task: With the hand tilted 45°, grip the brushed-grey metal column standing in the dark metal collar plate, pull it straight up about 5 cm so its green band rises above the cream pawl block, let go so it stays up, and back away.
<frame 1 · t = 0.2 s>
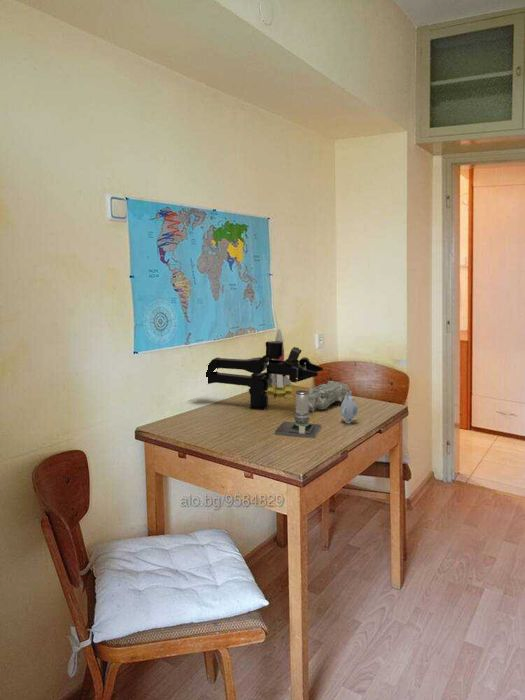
hand: (320, 371, 206), 17 cm above the table, tool horizontal, fingers open, 9 cm apart
toy figure: (348, 423, 197), on the table
stand base: (301, 432, 186), on the table
stone: (327, 405, 221), on the table
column: (302, 410, 184), point 8 cm above the table, slide at 0.0 cm
toy rocket: (278, 396, 235), on the table
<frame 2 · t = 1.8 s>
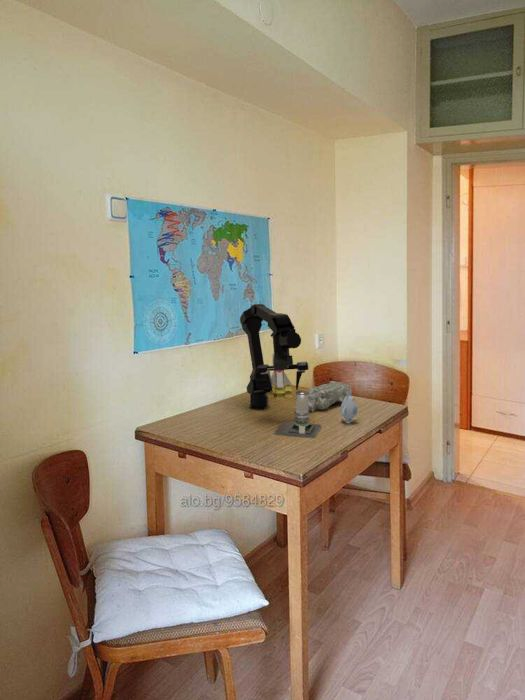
hand: (284, 390, 196), 12 cm above the table, tool pointing down, fingers open, 9 cm apart
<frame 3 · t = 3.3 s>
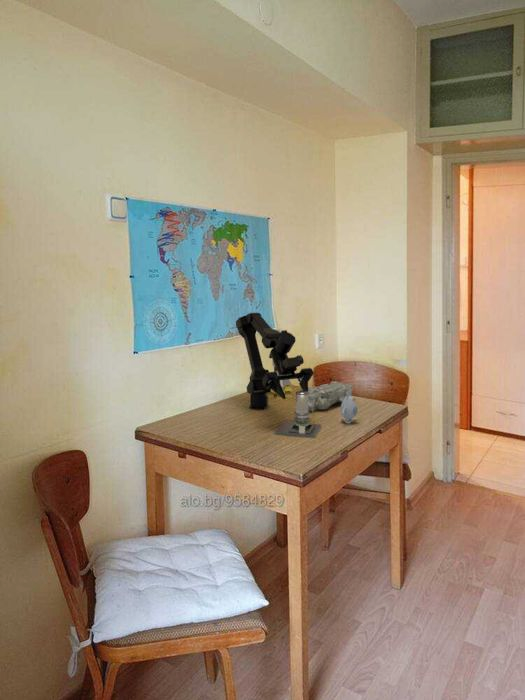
hand: (296, 397, 187), 12 cm above the table, tool tilted 45°, fingers open, 9 cm apart
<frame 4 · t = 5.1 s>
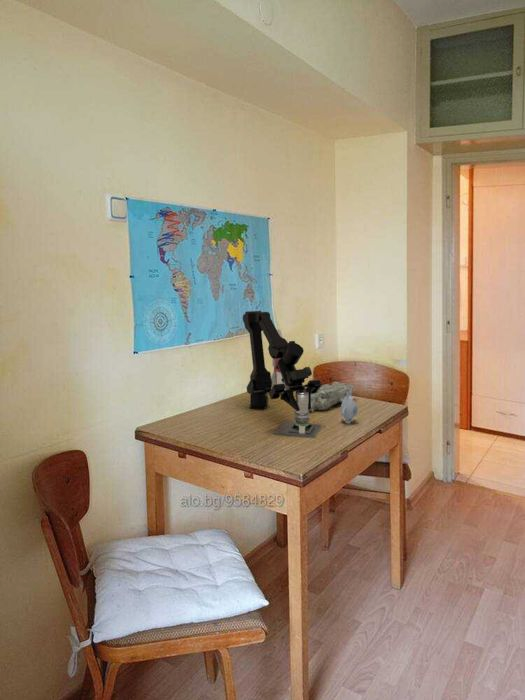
hand: (304, 409, 183), 9 cm above the table, tool tilted 45°, fingers closed on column, 4 cm apart
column: (302, 410, 184), point 8 cm above the table, slide at 0.0 cm, touching gripper
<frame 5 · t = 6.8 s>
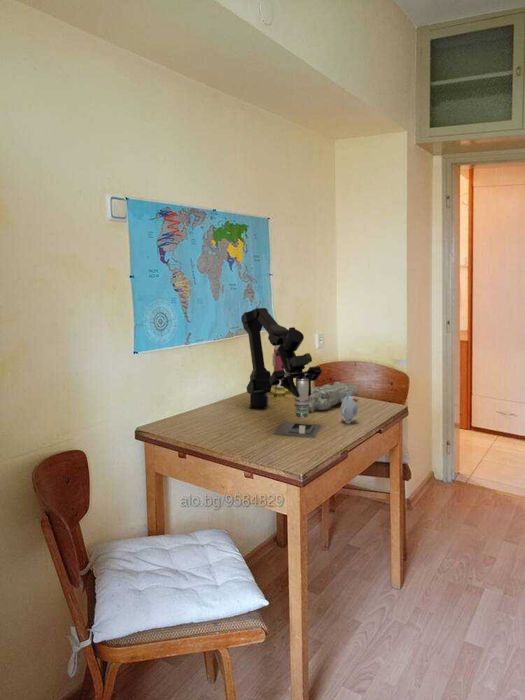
hand: (304, 396, 182), 13 cm above the table, tool tilted 45°, fingers closed on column, 4 cm apart
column: (302, 397, 184), point 13 cm above the table, slide at 4.8 cm, touching gripper
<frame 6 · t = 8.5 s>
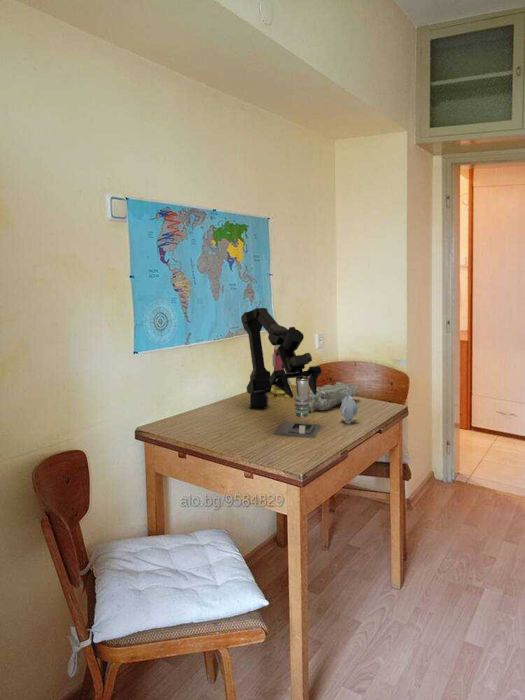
hand: (304, 395, 182), 14 cm above the table, tool tilted 45°, fingers open, 9 cm apart
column: (302, 397, 184), point 13 cm above the table, slide at 4.9 cm
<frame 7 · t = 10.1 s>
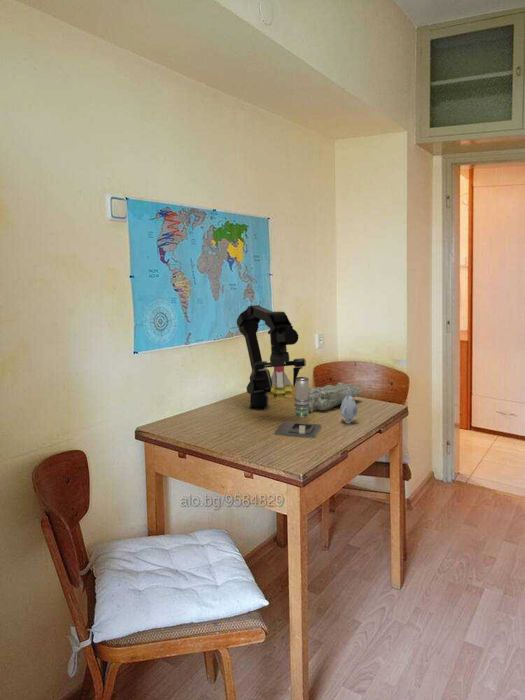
hand: (282, 387, 198), 13 cm above the table, tool pointing down, fingers open, 9 cm apart
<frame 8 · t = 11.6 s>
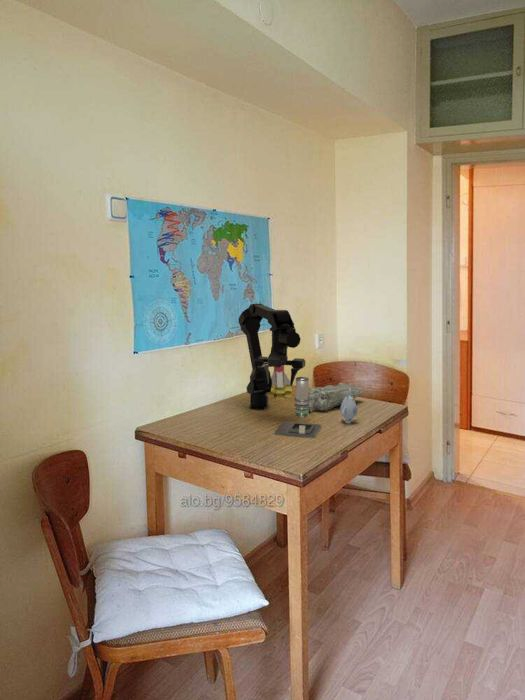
hand: (279, 384, 200), 13 cm above the table, tool pointing down, fingers open, 9 cm apart
at the end: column slide at 4.9 cm; the gripper is holding nothing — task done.
